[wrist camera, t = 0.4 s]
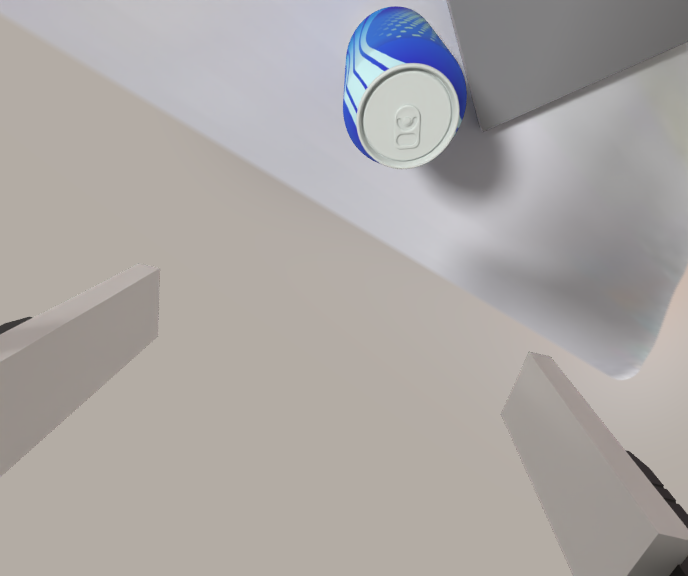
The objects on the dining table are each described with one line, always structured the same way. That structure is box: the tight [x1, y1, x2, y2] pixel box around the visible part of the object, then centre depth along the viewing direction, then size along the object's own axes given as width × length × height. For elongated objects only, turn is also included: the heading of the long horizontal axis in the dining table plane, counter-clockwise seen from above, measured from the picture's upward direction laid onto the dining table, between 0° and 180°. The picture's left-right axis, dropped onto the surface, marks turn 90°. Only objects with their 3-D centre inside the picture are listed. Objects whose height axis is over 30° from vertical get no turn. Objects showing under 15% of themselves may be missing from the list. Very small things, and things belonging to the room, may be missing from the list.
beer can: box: [343, 7, 467, 169], centre depth 31 cm, size 8×8×16 cm
